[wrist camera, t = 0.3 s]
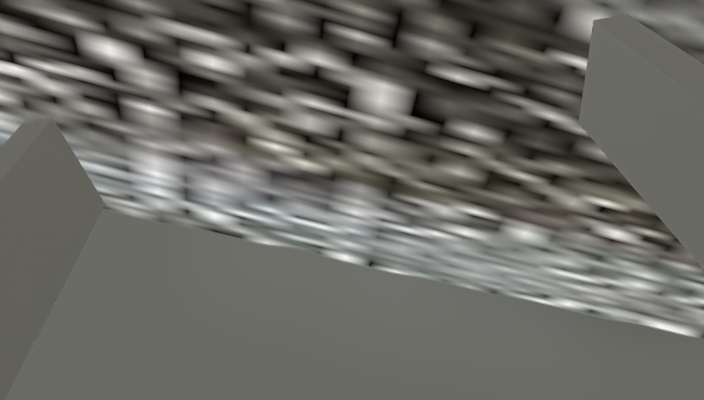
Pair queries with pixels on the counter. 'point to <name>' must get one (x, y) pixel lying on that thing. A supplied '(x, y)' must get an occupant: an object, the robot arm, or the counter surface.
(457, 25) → the counter surface
